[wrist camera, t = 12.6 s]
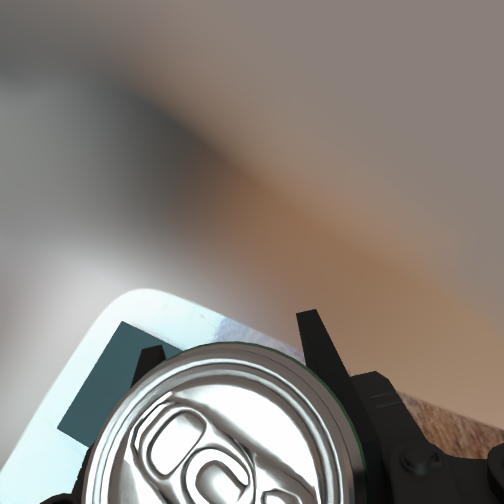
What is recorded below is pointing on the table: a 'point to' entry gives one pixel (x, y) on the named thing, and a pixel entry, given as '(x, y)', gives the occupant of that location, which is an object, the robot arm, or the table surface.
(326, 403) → the soda can
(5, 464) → the table surface
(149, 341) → the square coaster
